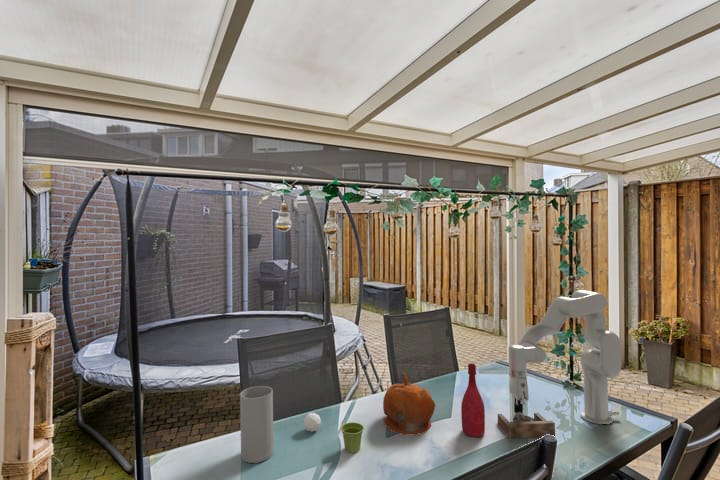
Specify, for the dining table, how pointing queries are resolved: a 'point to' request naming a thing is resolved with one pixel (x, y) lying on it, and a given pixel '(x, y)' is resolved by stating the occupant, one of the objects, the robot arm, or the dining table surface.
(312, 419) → the geometric ball
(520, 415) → the caster wheel
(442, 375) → the dining table surface
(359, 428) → the plant pot
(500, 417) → the brown wooden frame
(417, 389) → the pumpkin
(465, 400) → the wine bottle
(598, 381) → the robot arm
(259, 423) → the cylinder vase
